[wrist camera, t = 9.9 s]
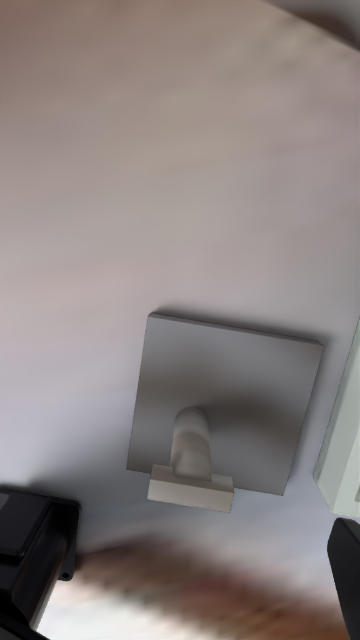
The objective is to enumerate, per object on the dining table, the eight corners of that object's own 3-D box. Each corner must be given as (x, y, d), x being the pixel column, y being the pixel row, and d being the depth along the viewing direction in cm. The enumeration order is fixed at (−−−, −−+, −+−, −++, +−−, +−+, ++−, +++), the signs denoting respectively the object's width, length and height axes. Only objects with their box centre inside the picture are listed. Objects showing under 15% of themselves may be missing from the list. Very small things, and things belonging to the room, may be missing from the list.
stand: (279, 484, 22) (317, 593, 15) (129, 459, 22) (99, 557, 15) (317, 340, 20) (383, 393, 13) (149, 313, 20) (126, 350, 13)
